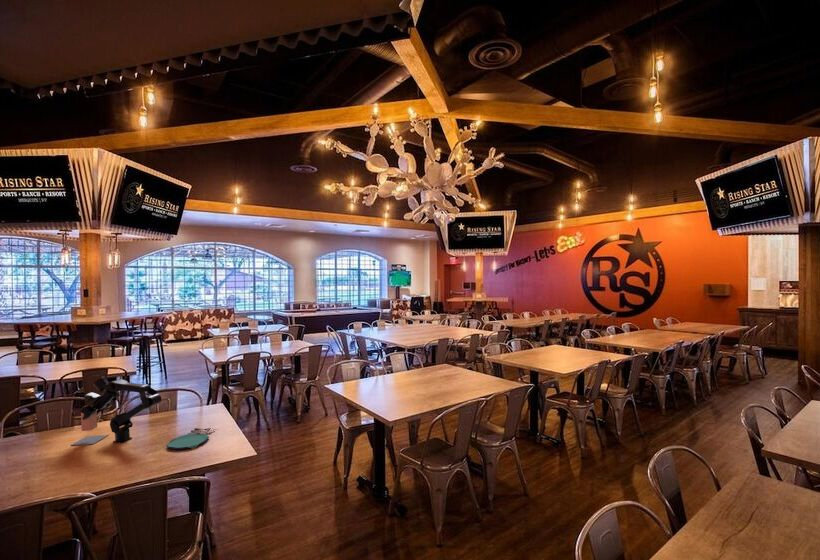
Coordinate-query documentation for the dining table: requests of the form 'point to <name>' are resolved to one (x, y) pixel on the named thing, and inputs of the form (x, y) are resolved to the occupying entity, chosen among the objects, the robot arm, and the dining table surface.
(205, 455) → the dining table surface
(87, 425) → the red block
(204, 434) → the green leaf shaped mat
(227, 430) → the dining table surface
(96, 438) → the slate mat
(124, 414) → the robot arm
